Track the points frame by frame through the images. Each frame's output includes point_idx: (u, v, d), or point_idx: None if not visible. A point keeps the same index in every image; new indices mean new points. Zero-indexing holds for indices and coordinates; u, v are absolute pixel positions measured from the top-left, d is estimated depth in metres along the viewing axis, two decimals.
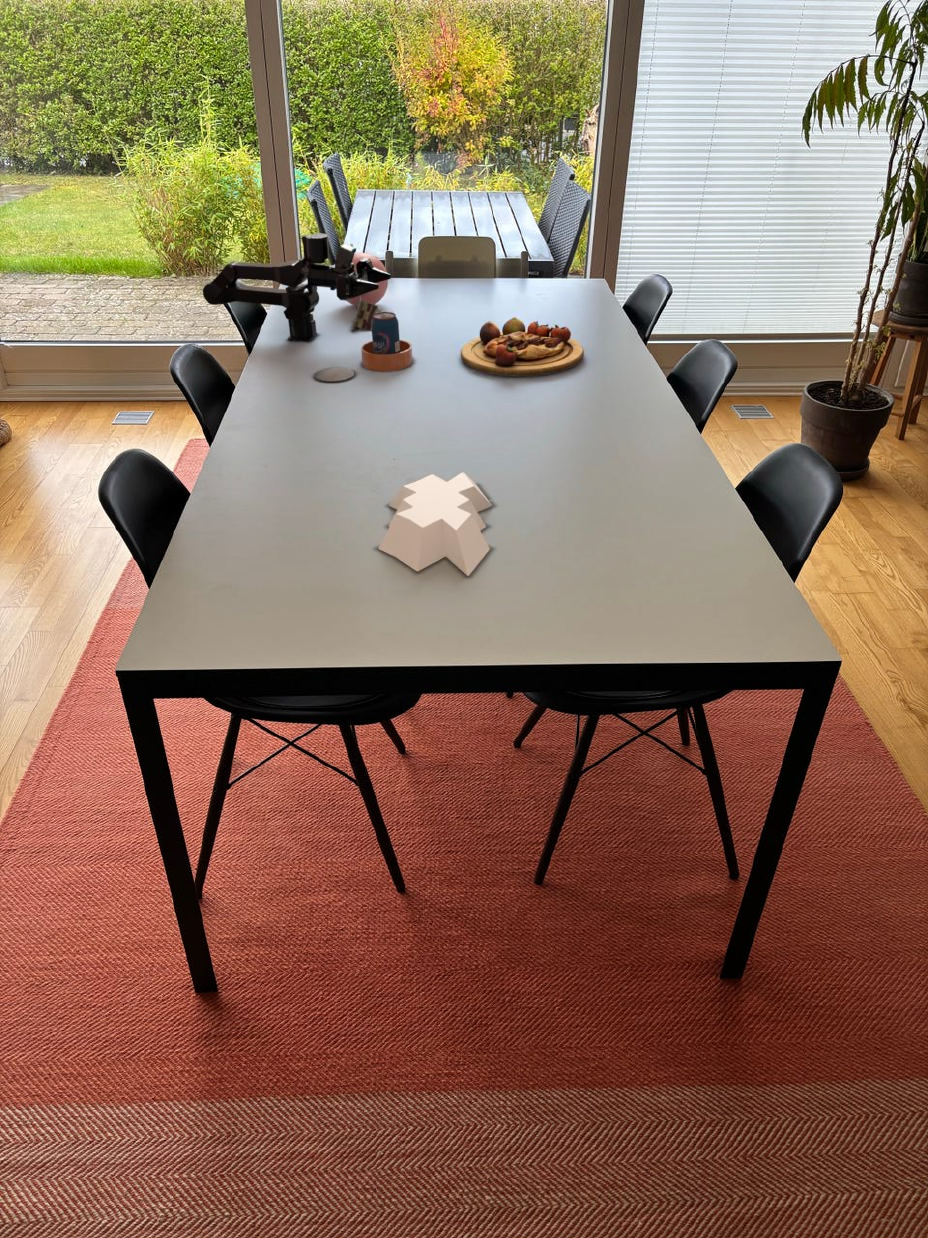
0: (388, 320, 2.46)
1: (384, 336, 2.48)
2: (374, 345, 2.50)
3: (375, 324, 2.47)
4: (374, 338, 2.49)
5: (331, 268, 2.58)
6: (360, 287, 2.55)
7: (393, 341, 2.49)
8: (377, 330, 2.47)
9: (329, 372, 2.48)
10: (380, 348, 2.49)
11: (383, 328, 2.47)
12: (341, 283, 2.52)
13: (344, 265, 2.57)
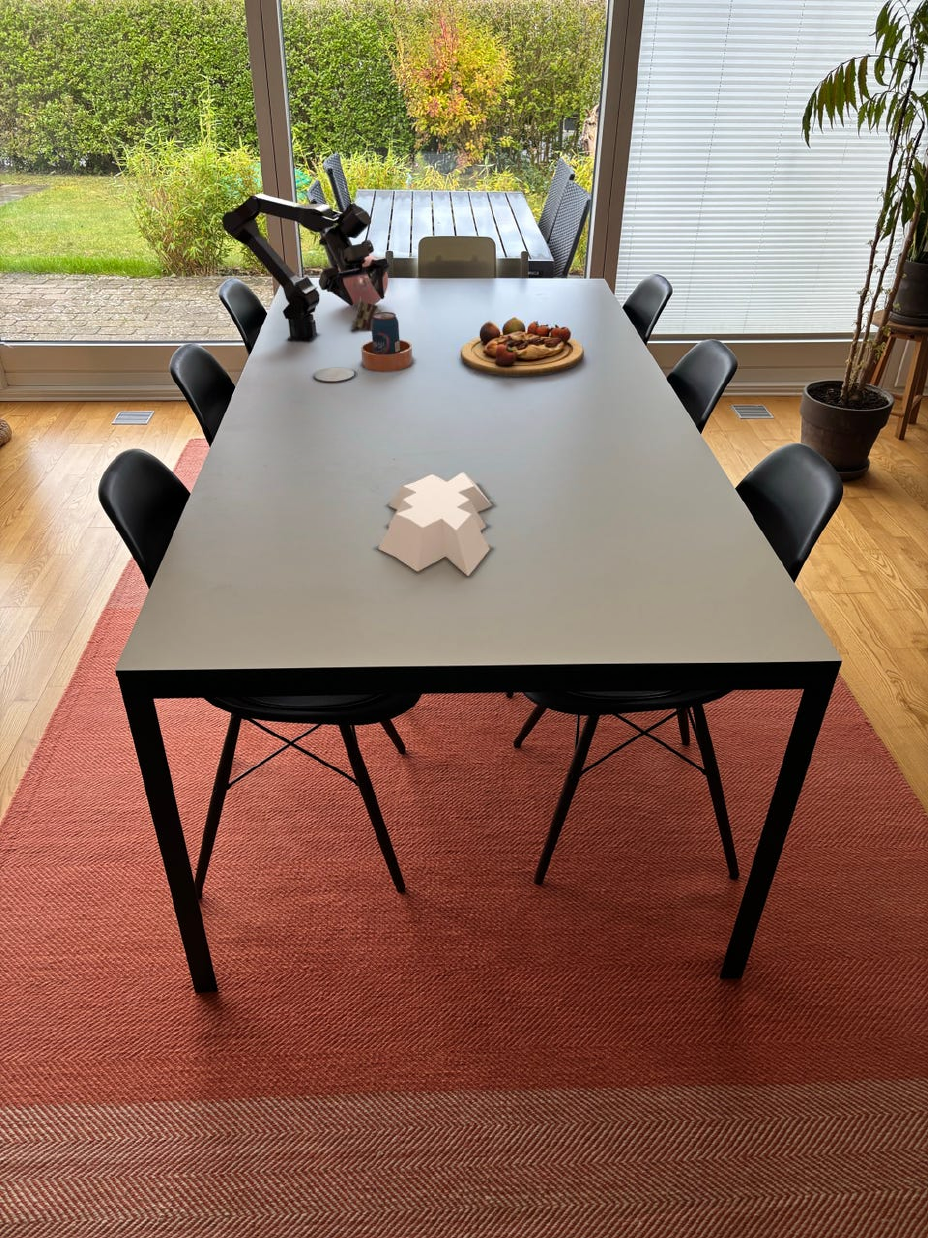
0: (388, 320, 2.46)
1: (384, 336, 2.48)
2: (374, 345, 2.50)
3: (375, 324, 2.47)
4: (374, 338, 2.49)
5: (340, 250, 2.51)
6: (340, 291, 2.51)
7: (393, 341, 2.49)
8: (377, 330, 2.47)
9: (329, 372, 2.48)
10: (380, 348, 2.49)
11: (383, 328, 2.47)
12: (323, 277, 2.48)
13: (347, 260, 2.49)
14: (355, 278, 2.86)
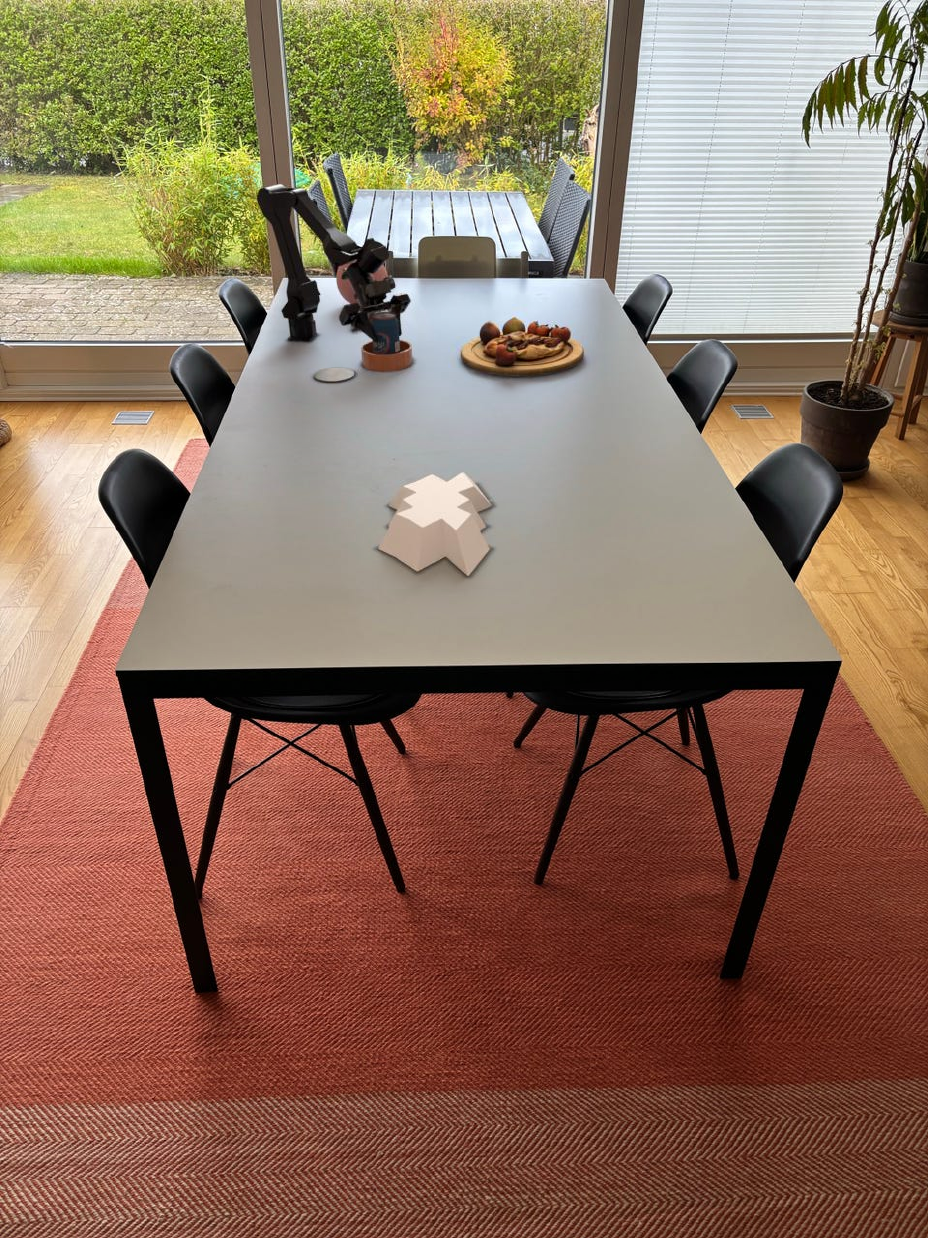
0: (388, 320, 2.46)
1: (384, 336, 2.48)
2: (374, 345, 2.50)
3: (375, 324, 2.47)
4: None
5: (361, 285, 2.48)
6: (364, 326, 2.49)
7: (393, 341, 2.49)
8: (377, 330, 2.47)
9: (329, 372, 2.48)
10: (380, 348, 2.49)
11: (383, 328, 2.47)
12: (344, 313, 2.45)
13: (368, 296, 2.47)
14: None
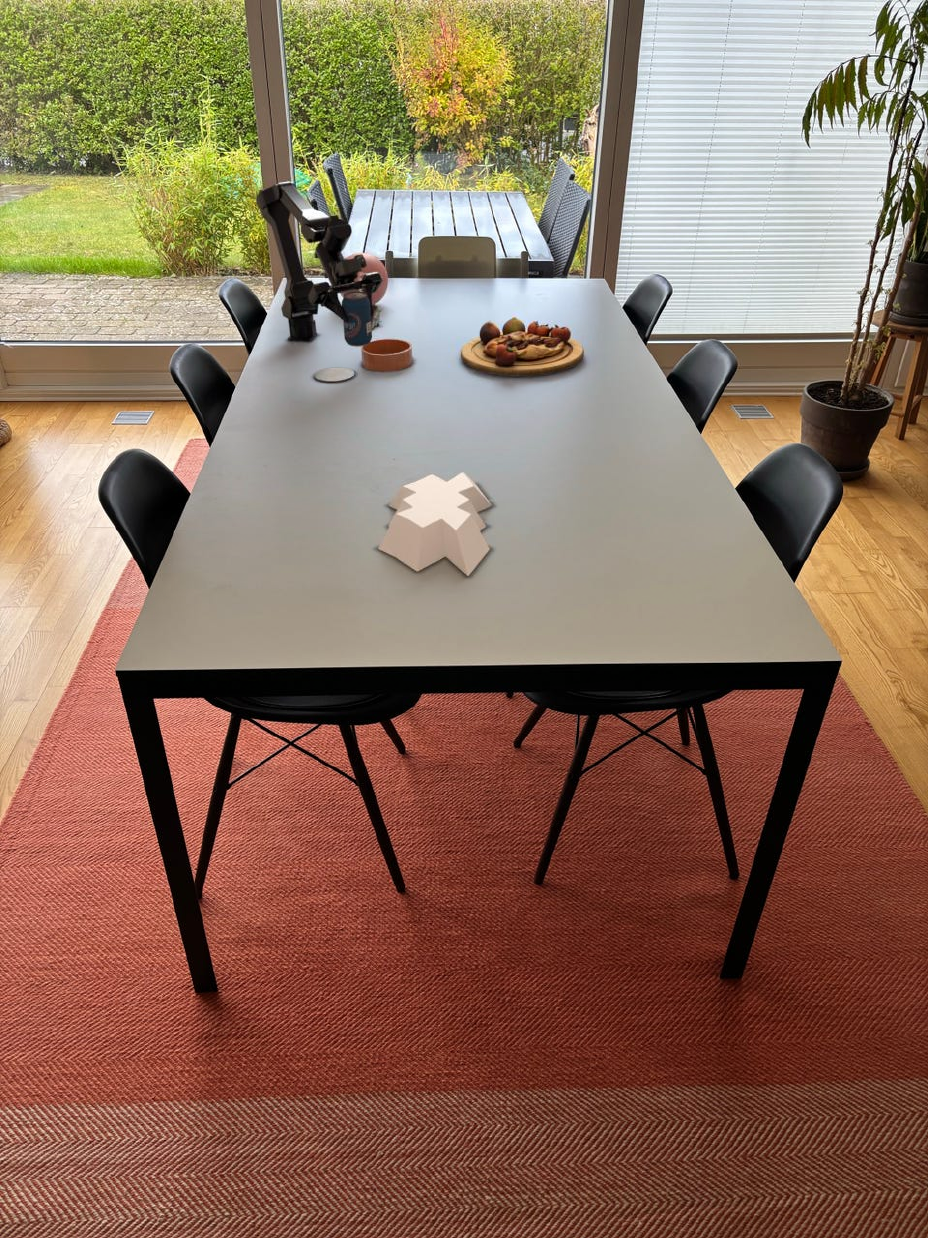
0: (359, 300, 2.39)
1: (355, 317, 2.41)
2: (345, 326, 2.43)
3: (345, 304, 2.40)
4: None
5: (331, 264, 2.41)
6: (334, 306, 2.41)
7: (365, 322, 2.42)
8: (348, 310, 2.40)
9: (329, 372, 2.48)
10: (351, 329, 2.42)
11: (353, 308, 2.39)
12: (313, 292, 2.38)
13: (338, 275, 2.39)
14: (355, 278, 2.86)
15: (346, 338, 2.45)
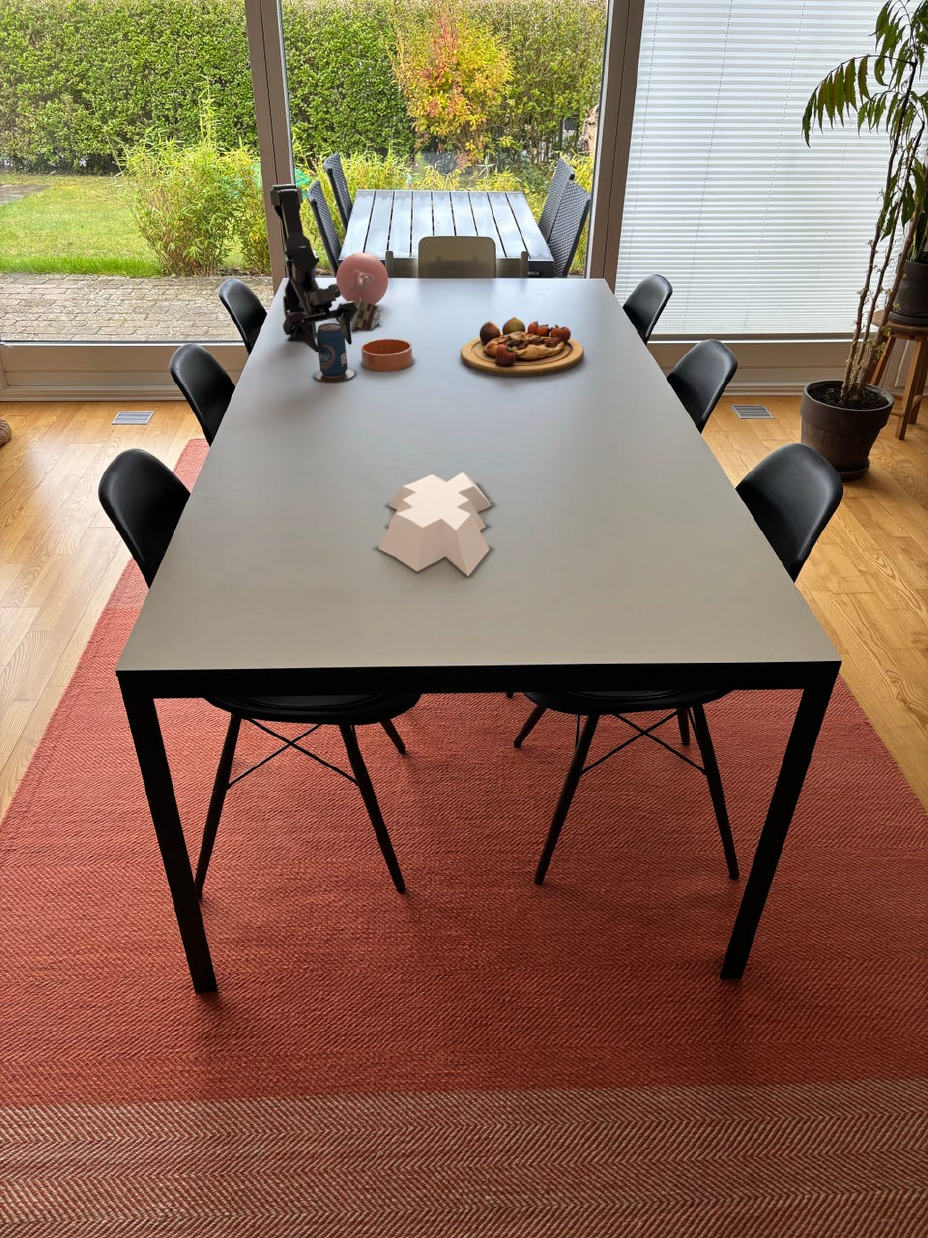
0: (333, 332, 2.39)
1: (329, 348, 2.40)
2: (320, 357, 2.43)
3: (320, 336, 2.40)
4: (319, 350, 2.42)
5: (305, 294, 2.40)
6: (305, 336, 2.40)
7: (339, 353, 2.42)
8: (322, 342, 2.40)
9: None
10: (326, 360, 2.42)
11: (327, 340, 2.39)
12: (287, 322, 2.38)
13: (313, 304, 2.39)
14: (355, 278, 2.86)
15: (321, 369, 2.45)
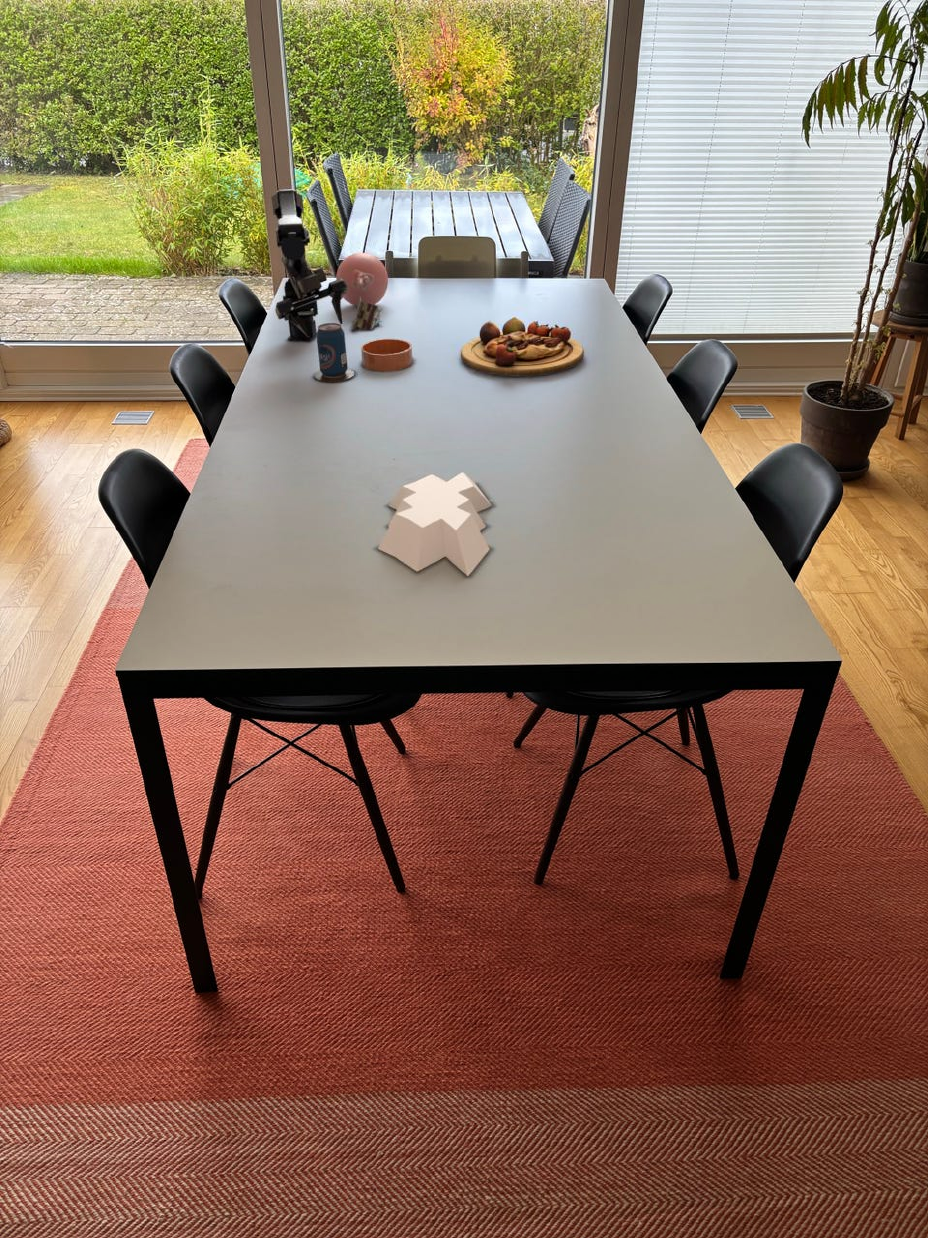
0: (333, 332, 2.39)
1: (329, 348, 2.40)
2: (320, 357, 2.43)
3: (320, 336, 2.40)
4: (319, 350, 2.42)
5: (294, 278, 2.46)
6: (296, 321, 2.49)
7: (339, 353, 2.42)
8: (322, 342, 2.40)
9: None
10: (326, 360, 2.42)
11: (327, 340, 2.39)
12: (277, 311, 2.46)
13: (300, 291, 2.45)
14: (355, 278, 2.86)
15: (321, 369, 2.45)
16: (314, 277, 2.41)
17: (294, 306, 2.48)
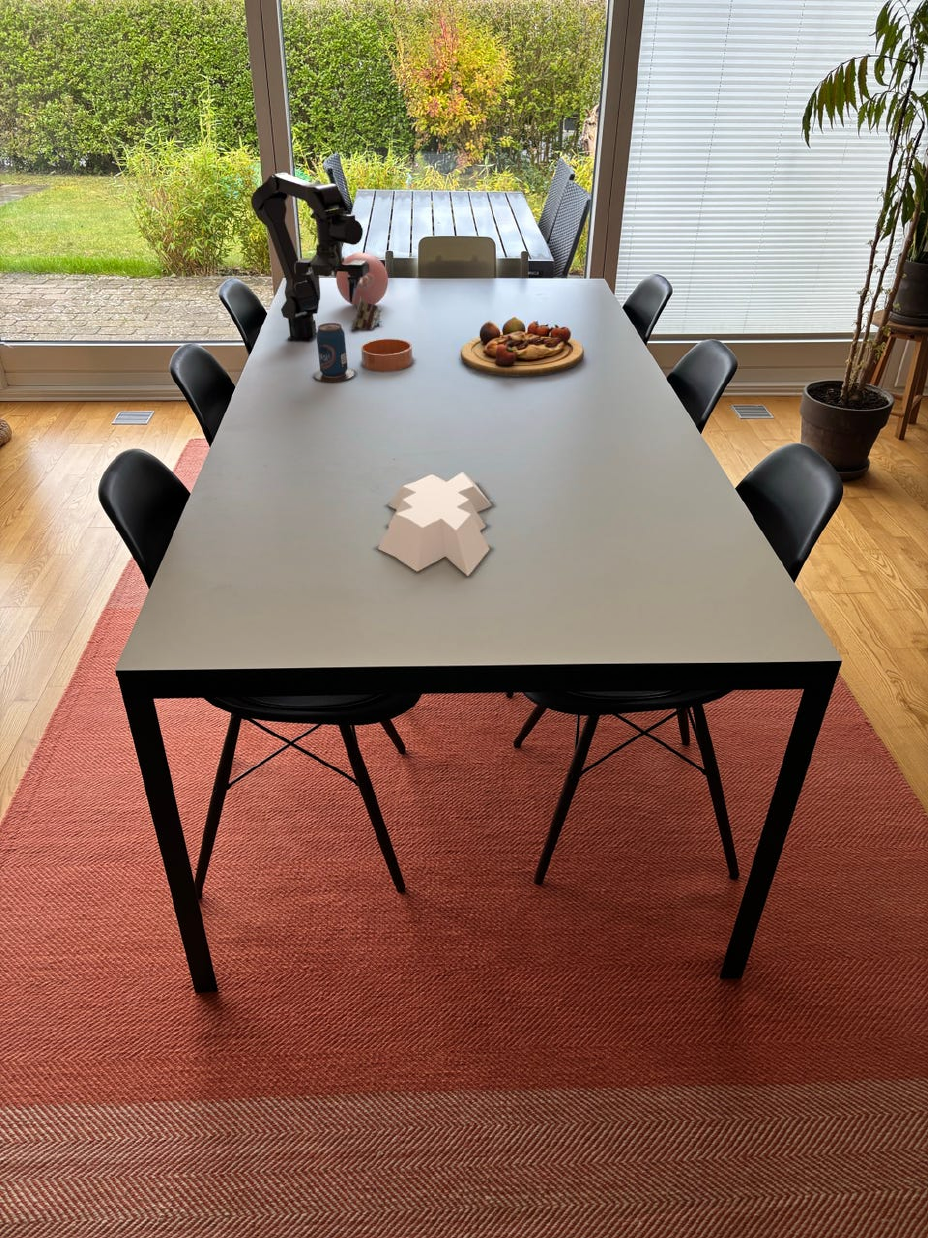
0: (333, 332, 2.39)
1: (329, 348, 2.40)
2: (320, 357, 2.43)
3: (320, 336, 2.40)
4: (319, 350, 2.42)
5: None
6: None
7: (339, 353, 2.42)
8: (322, 342, 2.40)
9: None
10: (326, 360, 2.42)
11: (327, 340, 2.39)
12: None
13: None
14: None
15: (321, 369, 2.45)
16: (323, 266, 2.44)
17: None
